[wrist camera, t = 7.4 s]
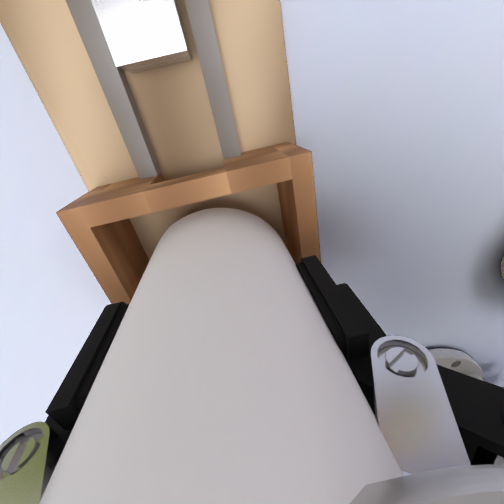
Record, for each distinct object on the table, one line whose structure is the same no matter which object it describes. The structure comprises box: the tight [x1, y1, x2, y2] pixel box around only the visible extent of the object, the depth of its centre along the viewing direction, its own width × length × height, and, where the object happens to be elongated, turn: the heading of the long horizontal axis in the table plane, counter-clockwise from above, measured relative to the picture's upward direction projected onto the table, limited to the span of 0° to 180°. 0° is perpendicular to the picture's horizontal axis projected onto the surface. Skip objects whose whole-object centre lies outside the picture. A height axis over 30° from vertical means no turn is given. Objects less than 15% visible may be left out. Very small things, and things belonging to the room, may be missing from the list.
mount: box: [0, 0, 321, 304], centre depth 11 cm, size 10×24×5 cm, turn 12°
